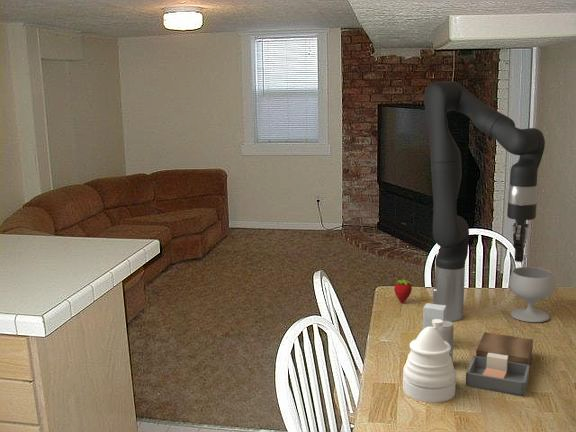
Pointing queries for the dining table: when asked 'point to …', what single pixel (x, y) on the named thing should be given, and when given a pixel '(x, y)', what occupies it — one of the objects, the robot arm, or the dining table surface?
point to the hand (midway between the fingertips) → (518, 261)
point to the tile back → (497, 362)
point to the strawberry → (402, 290)
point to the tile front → (495, 373)
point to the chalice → (531, 291)
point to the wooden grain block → (506, 347)
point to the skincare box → (433, 313)
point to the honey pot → (429, 367)
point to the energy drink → (447, 334)
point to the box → (510, 385)
